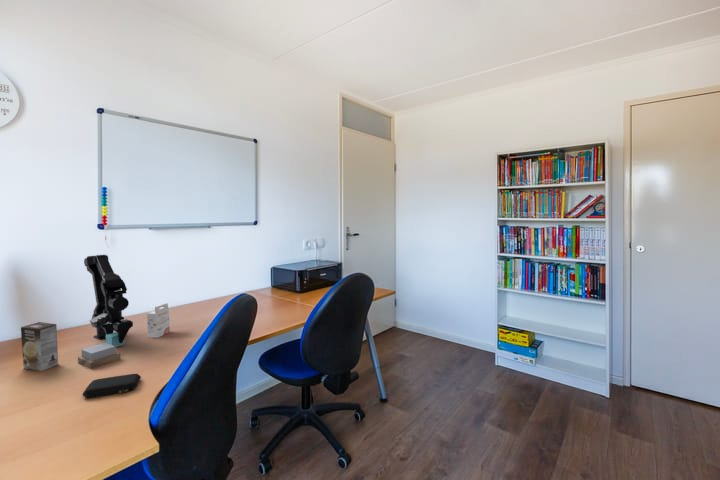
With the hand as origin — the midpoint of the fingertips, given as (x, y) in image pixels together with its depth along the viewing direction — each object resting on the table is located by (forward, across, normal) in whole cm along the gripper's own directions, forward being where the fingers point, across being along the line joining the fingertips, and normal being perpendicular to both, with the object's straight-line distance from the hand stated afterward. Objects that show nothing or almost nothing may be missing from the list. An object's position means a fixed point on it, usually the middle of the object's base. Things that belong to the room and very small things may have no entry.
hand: (115, 341), depth 151 cm
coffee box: (+2, -1, -25) cm, 25 cm away
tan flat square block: (+2, +13, -12) cm, 18 cm away
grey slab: (-1, +13, -12) cm, 18 cm away
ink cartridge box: (+2, +4, +17) cm, 18 cm away
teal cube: (+2, 0, 0) cm, 2 cm away
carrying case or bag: (+2, +42, -21) cm, 47 cm away
